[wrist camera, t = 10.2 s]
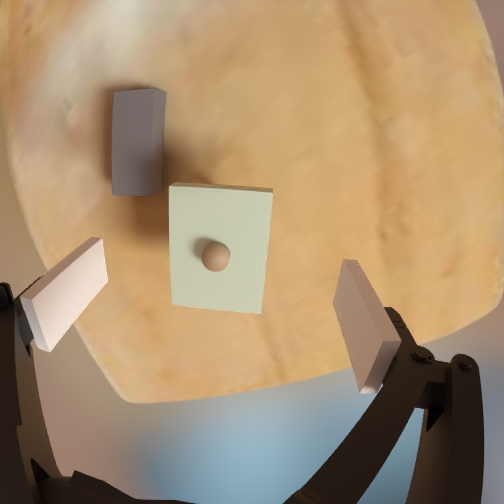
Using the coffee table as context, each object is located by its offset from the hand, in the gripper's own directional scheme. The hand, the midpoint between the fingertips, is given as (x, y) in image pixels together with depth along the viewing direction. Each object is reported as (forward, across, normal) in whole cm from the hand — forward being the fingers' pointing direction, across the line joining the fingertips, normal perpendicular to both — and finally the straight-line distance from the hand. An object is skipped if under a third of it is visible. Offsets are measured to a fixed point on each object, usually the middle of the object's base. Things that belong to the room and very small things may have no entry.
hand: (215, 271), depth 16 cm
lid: (+13, -2, -4) cm, 14 cm away
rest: (+21, -12, +5) cm, 25 cm away
